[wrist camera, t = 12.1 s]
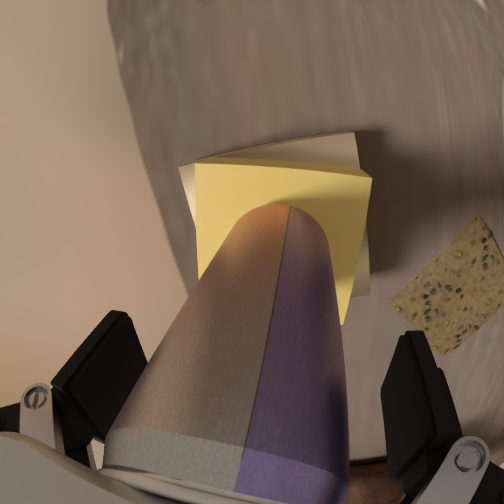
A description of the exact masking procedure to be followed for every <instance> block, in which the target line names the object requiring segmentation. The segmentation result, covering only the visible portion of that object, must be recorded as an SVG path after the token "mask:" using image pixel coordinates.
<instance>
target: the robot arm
mask: <svg viewBox="0 0 504 504" xmlns="http://www.w3.org/2000/svg"><path fill="white" fill-rule="evenodd" d="M147 364H148V362H147V360H146V357H145V355H144V352H143V349H142V347H141V344H140V342H139V339H138V336H137V334H136V331H135V328H134V325H133V322H132V319H131V318H130V317H129V316H128V314H127V313H126V312H122V311H116V310H111V311H110V312H109V313H108V314H107V315H106V316H105V317H104V318H103V320H102V321H101V322H100V323H99V324H98V325H97V326H96V328H95V329H94V330H93V331H92V332H91V334H90V335H89V336H88V337H87V338H86V339H85V340H84V342H83V343H82V344H81V345H80V346H79V348H78V349H77V350H76V351H75V352H74V354H73V355H72V356H71V357H70V359H69V360H68V361H67V362H66V364H65V365H64V366H63V367H62V368H61V370H60V371H59V372H58V373H57V375H56V376H55V377H54V378H53V380H52V381H51V385H52V386H53V388H52V389H50V388H49V386H48V385H46V384H43V383H36V384H34V385H31V386H30V387H28V388H27V389H26V390H25V391H24V393H23V395H22V397H21V402H19V403H16V404H12V405H9V406H5V407H1V408H0V504H181V503H177V502H174V501H170V500H167V499H164V498H161V497H158V496H155V495H152V494H149V493H147V492H144V491H141V490H138V489H136V488H133V487H130V486H128V485H126V484H123V483H121V482H118V481H116V480H114V479H112V478H109V477H107V476H105V475H103V474H101V473H99V472H97V468H96V464H95V460H94V455H93V451H92V446H91V440H92V439H93V438H94V439H95V440H97V441H99V442H101V443H103V444H105V438H106V435H107V433H108V432H109V430H110V428H111V426H112V425H113V423H114V421H115V419H116V417H117V416H118V414H119V412H120V410H121V409H122V407H123V405H124V403H125V402H126V400H127V398H128V397H129V395H130V393H131V391H132V390H133V388H134V386H135V384H136V383H137V381H138V379H139V378H140V376H141V374H142V373H143V371H144V369H145V367H146V366H147ZM381 403H382V411H383V419H384V428H385V439H386V450H387V464H388V476H389V478H390V479H392V478H393V485H398V484H403V489H404V493H405V494H404V495H403V496H402V498H401V499H400V500H399V501H398V503H397V504H504V469H502V468H500V467H499V466H497V465H495V464H494V463H492V462H490V461H489V460H490V452H489V449H488V446H487V445H486V443H485V442H484V441H483V440H482V439H480V438H478V437H475V436H465V437H463V435H462V431H461V427H460V424H459V420H458V416H457V413H456V409H455V406H454V403H453V399H452V396H451V393H450V390H449V387H448V384H447V381H446V378H445V375H444V373H443V371H442V369H441V368H437V365H436V362H435V360H434V357H433V354H432V351H431V349H430V346H429V343H428V341H427V338H426V336H425V333H424V331H422V330H417V331H406V332H405V334H404V335H401V336H400V337H399V340H398V343H397V346H396V349H395V352H394V355H393V358H392V360H391V363H390V366H389V369H388V371H387V374H386V377H385V379H384V382H383V384H382V387H381Z"/></svg>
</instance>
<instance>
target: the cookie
mask: <svg viewBox="0 0 504 504" xmlns="http://www.w3.org/2000/svg"><path fill="white" fill-rule="evenodd" d="M390 302H391V303H392V304H393V305H394V307H395V309H396V311H397V312H400V313H401V314H402V315H403V316H404V317H405V319H406V320H407V321H408V322H410V323H411V324H412V325H413V326H414V327H415V328H416V330H422V331H424V333H425V336H426V338H427V341H428V342H429V343H430V344H431V345H432V348H433V349H434V350H437V352H439V354H440V355H441V356H445V355H447V354H448V353H449V352H451V351H452V350H453V349H456V348H457V347H458V346H459V345H460V344H461V343H462V342H464V341H465V340H466V339H467V338H468V337H469V336H470V335H471V334H473V333H474V332H475V331H476V330H478V329H479V328H480V327H481V326H482V325H483V324H484V323H485V322H486V321H487V320H488V319H489V318H490V317H491V316H493V315H494V314H495V313H496V312H497V311H498V310H499V309H500V308H501V307H502V306H503V305H504V258H503V256H502V254H501V253H500V250H499V248H498V246H497V245H496V242H495V240H494V238H493V235H492V233H491V232H490V231H489V230H488V228H487V226H486V224H485V223H484V222H483V220H482V219H481V217H480V215H478V216H477V218H476V219H475V220H474V221H473V222H472V223H471V224H470V225H469V226H468V227H467V228H466V229H465V230H464V231H463V232H462V233H461V234H460V235H459V237H458V238H457V239H455V240H454V241H453V242H452V243H451V244H450V246H449V247H448V248H447V249H446V250H445V251H444V252H443V253H442V254H440V255H439V257H438V258H437V259H436V260H435V261H433V262H432V263H431V264H430V265H429V266H428V267H427V268H426V269H425V270H424V271H422V272H421V273H420V274H419V276H417V277H416V278H415V279H414V280H413V281H412V282H411V283H409V284H408V285H407V286H406V287H405V288H404V289H402V290H401V291H400V292H399V293H398V294H397V295H396V296H394V297H393V298H391V299H390Z"/></svg>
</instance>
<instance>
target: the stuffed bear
mask: <svg viewBox="0 0 504 504" xmlns="http://www.w3.org/2000/svg"><path fill="white" fill-rule="evenodd" d="M404 494H405V493H404V489H403V484H398V485H393V478H392V479H390V478H389V476H388V464H387V462H382V463H376V464H369V465H358V466H349V494H348V497H347V499H346V501H345V504H397V503H398V501H399V500H400V499H401V498H402V496H403V495H404Z"/></svg>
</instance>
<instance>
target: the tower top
mask: <svg viewBox="0 0 504 504" xmlns="http://www.w3.org/2000/svg"><path fill="white" fill-rule="evenodd" d="M371 184H372V178H371V177H370V176H369V175H368V174H367V173H366V172H364V171H363V170H362V169H355V168H347V167H339V166H331V165H323V164H313V163H303V162H292V161H280V160H267V159H250V158H228V157H209V158H207V159H204V160H202V161H199V162H197V163H195V206H196V235H197V256H198V274H199V279H200V278H201V276H202V274H203V273H204V271H205V270H206V268H207V267H208V265H209V263H210V262H211V260H212V259H213V257H214V256H215V254H216V252H217V251H218V249H219V248H220V246H221V245H222V243H223V242H224V240H225V238H226V237H227V235H228V234H229V232H230V231H231V229H232V228H233V226H234V225H235V223H236V222H237V221H238V220H239V219H240V218H241V217H242V216H243V215H244V214H246V213H247V212H249V211H251V210H252V209H255V208H257V207H260V206H264V205H269V204H283V205H289V206H292V207H296V208H298V209H300V210H302V211H304V212H306V213H307V214H309V215H310V216H311V217H313V218H314V219H315V220H316V221H317V222H318V223H319V225H320V226H321V227H322V229H323V231H324V232H325V234H326V237H327V240H328V243H329V249H330V255H331V261H332V267H333V273H334V280H335V287H336V294H337V301H338V309H339V317H340V325H343V322H344V318H345V315H346V311H347V307H348V303H349V299H350V295H351V291H352V286H353V282H354V278H355V273H356V269H357V264H358V259H359V254H360V249H361V244H362V239H363V234H364V228H365V222H366V217H367V211H368V204H369V198H370V191H371Z"/></svg>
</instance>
